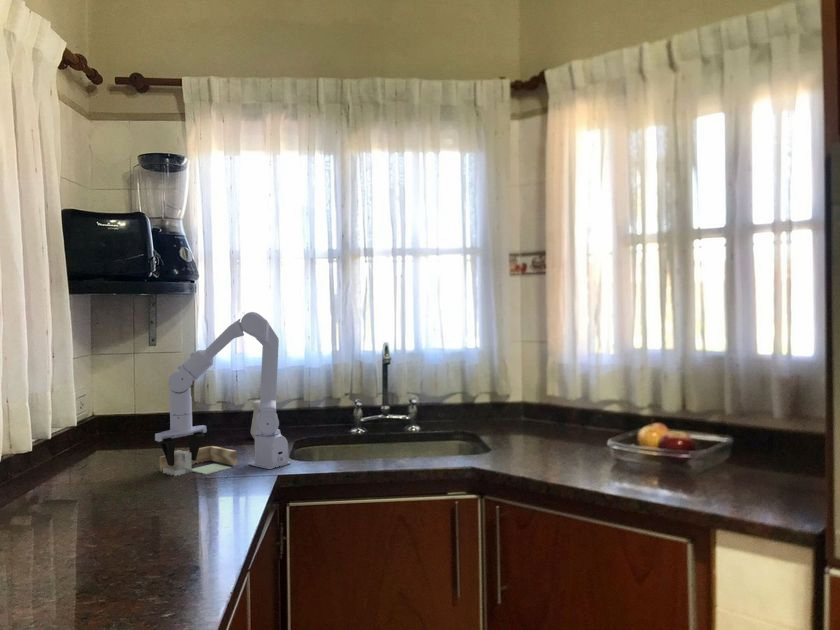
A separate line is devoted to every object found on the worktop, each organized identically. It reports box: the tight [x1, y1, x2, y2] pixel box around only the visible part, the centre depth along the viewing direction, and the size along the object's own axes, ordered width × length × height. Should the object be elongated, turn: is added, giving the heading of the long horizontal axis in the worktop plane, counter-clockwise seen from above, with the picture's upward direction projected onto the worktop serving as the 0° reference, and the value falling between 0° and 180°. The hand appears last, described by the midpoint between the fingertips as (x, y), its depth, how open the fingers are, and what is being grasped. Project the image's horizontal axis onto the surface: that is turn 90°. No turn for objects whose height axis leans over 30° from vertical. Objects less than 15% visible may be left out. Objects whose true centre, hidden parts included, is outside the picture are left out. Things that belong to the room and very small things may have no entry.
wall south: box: [209, 445, 238, 466], centre depth 183 cm, size 12×1×4 cm, turn 52°
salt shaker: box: [250, 399, 260, 440], centre depth 217 cm, size 6×6×13 cm
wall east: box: [158, 445, 212, 472], centre depth 180 cm, size 1×16×4 cm, turn 143°
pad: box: [192, 463, 232, 476], centre depth 175 cm, size 8×8×1 cm
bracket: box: [162, 449, 193, 477], centre depth 173 cm, size 6×5×6 cm
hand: (182, 462), depth 174 cm, fingers open, 6 cm apart
